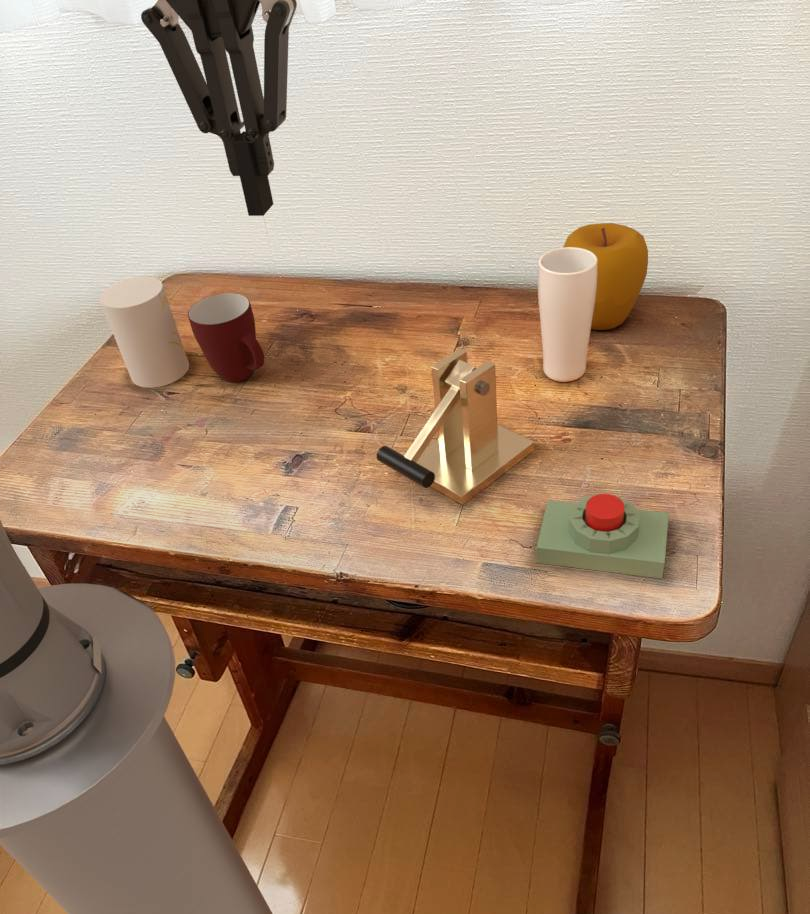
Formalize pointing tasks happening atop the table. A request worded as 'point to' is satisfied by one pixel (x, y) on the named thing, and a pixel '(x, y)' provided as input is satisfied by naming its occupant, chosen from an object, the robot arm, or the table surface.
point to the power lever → (426, 433)
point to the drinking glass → (566, 310)
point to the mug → (227, 335)
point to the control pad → (603, 540)
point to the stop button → (604, 512)
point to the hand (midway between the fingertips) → (261, 209)
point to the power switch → (470, 434)
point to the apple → (613, 269)
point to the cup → (145, 331)
